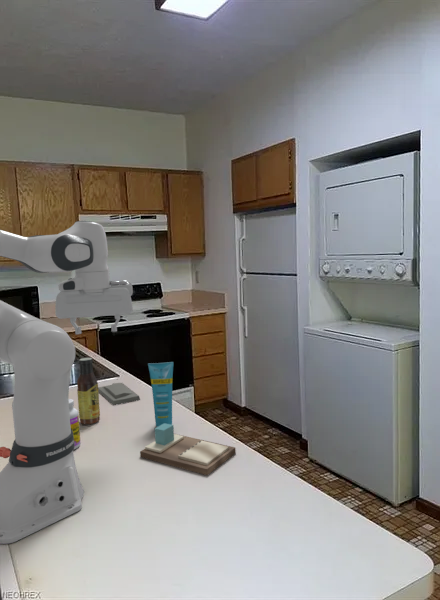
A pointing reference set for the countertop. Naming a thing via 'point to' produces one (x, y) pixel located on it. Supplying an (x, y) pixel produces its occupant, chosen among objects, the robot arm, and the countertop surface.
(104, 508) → the countertop surface
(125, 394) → the soap mold
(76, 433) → the supplement bottle
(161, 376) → the tube
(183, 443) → the board
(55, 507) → the robot arm
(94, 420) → the sauce bottle
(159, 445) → the panel
